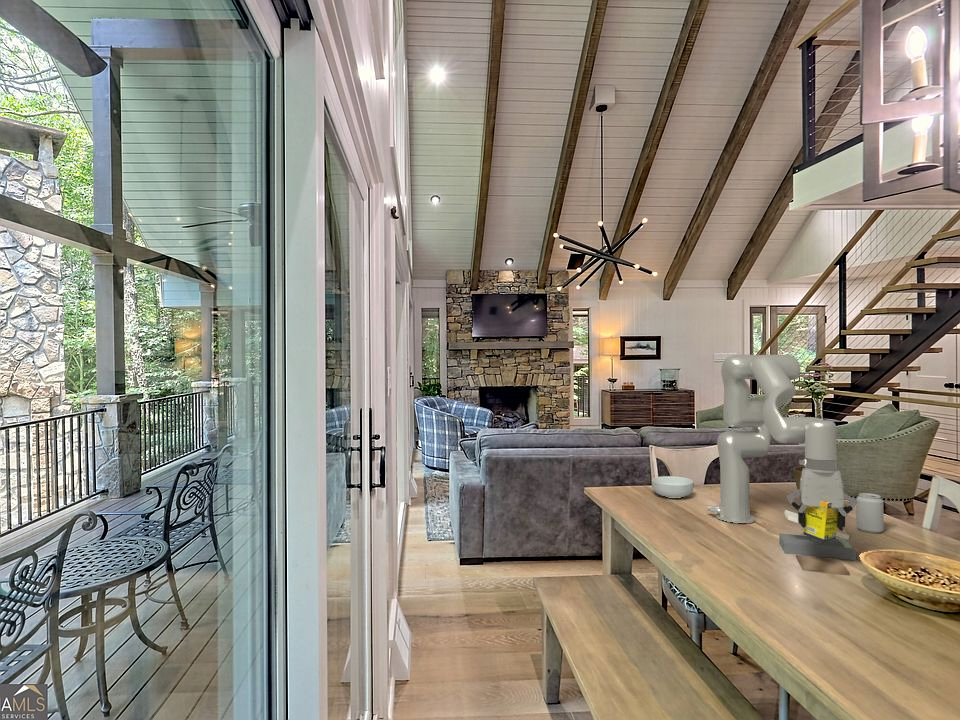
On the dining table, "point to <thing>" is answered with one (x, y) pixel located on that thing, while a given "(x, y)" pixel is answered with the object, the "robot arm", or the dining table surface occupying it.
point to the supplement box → (821, 522)
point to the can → (869, 513)
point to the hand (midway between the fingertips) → (821, 527)
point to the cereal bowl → (672, 486)
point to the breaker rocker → (794, 518)
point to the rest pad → (822, 565)
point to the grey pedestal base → (817, 547)
